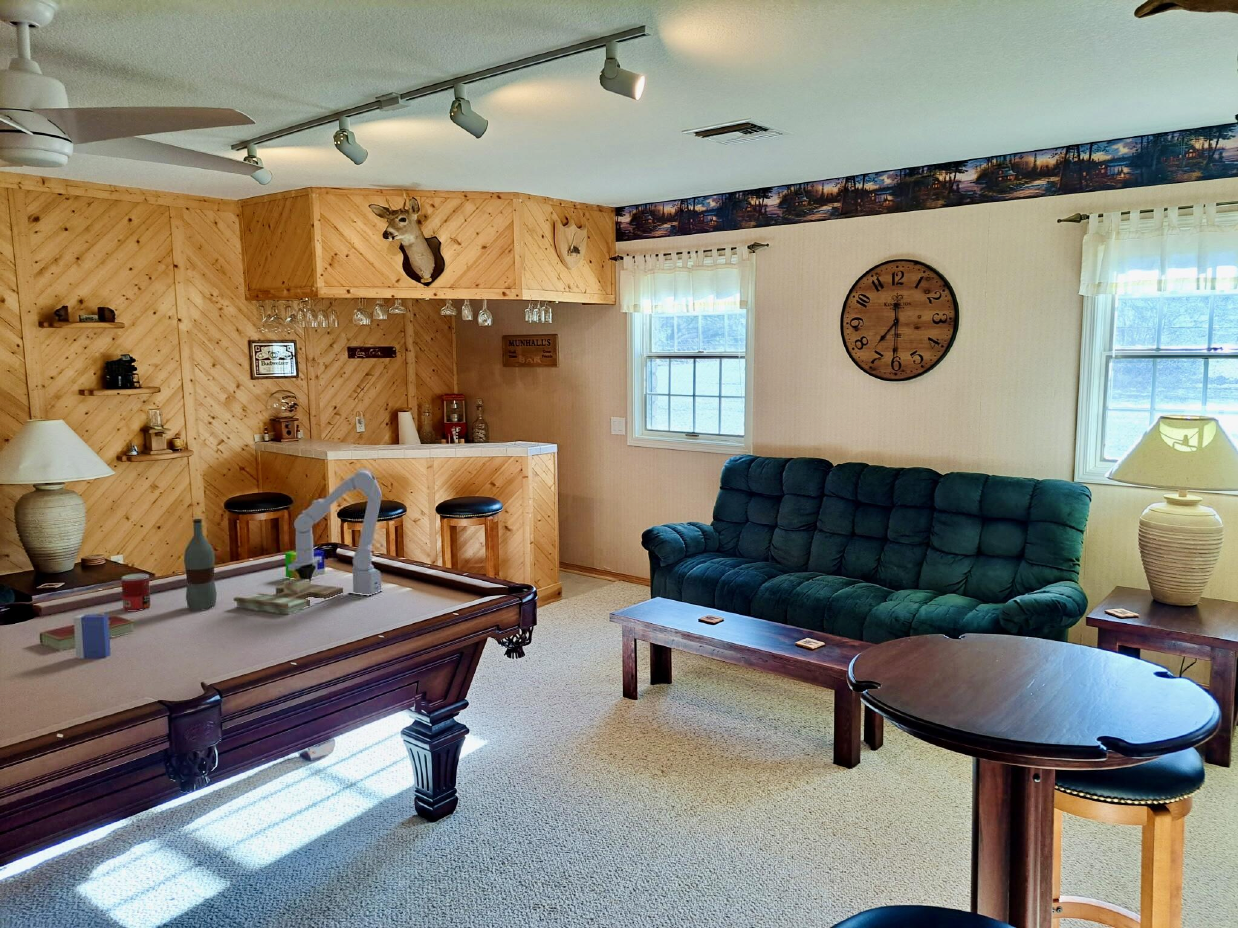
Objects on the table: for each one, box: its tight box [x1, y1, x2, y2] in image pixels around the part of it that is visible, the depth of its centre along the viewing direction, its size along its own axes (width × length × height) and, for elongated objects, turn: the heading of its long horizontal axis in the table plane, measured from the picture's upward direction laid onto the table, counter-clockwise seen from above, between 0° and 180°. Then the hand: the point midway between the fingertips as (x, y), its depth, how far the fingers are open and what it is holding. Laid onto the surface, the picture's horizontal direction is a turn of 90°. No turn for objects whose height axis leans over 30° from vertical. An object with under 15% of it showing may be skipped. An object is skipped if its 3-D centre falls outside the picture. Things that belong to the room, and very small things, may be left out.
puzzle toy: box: [284, 548, 326, 578], centre depth 326 cm, size 10×10×10 cm
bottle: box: [183, 518, 218, 611], centre depth 283 cm, size 9×9×30 cm
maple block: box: [283, 578, 311, 595], centre depth 295 cm, size 6×6×4 cm
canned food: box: [121, 573, 151, 611], centre depth 283 cm, size 8×8×11 cm
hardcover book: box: [39, 614, 136, 651], centre depth 252 cm, size 12×21×4 cm, turn 147°
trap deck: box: [233, 583, 344, 615], centre depth 293 cm, size 22×28×4 cm
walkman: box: [73, 612, 112, 659], centre depth 236 cm, size 8×3×12 cm, turn 96°
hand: (306, 586), depth 300 cm, fingers closed
